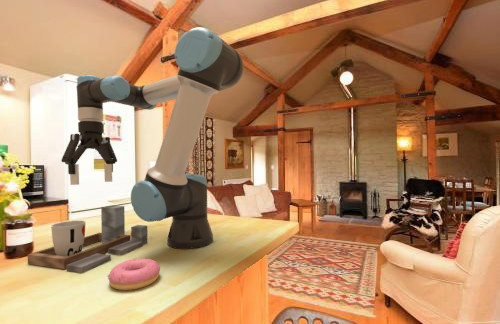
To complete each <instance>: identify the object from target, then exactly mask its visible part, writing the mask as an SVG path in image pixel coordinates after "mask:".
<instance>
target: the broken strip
mask: <svg viewBox="0 0 500 324" xmlns="http://www.w3.org/2000/svg"><path fill="white" fill-rule="evenodd" d="M130 232H131V233H130V234H131V235H130V241H127V242H125V243H122V244H120V245H117V246H114V247H112V248H109V249H108V252H107V254H106V253H103V254H98V253H96V254H94V255H91V256H89V257H86V258H84V259H81V260H78V261H76V262H73V263H71V264H68V265H67V268H66V272H71V273H78V274H83V273H85V272H87V271H89V270H92V269H94V268H97V267H99V266H101V265H104V264H106V263H108V262H110V261H111V260H112V256H111V255H116V256H124V255H126V254H129V253H131V252H133V251H135V250H137V249H140V248H142V247H143V246H144V245H147V244H148V243H149V242H148V225H145V224H144V225H143V224H136V225H133V226H131V228H130Z"/></svg>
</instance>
